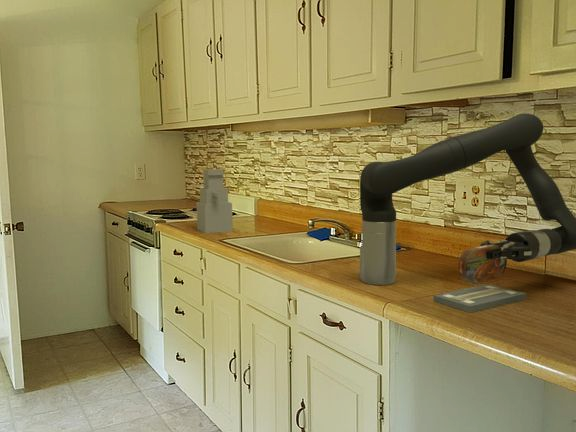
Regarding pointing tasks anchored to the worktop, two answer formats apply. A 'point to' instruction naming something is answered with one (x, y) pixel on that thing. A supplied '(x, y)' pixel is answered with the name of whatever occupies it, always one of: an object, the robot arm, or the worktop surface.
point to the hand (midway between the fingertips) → (482, 253)
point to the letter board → (479, 298)
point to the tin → (480, 265)
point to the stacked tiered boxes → (214, 204)
